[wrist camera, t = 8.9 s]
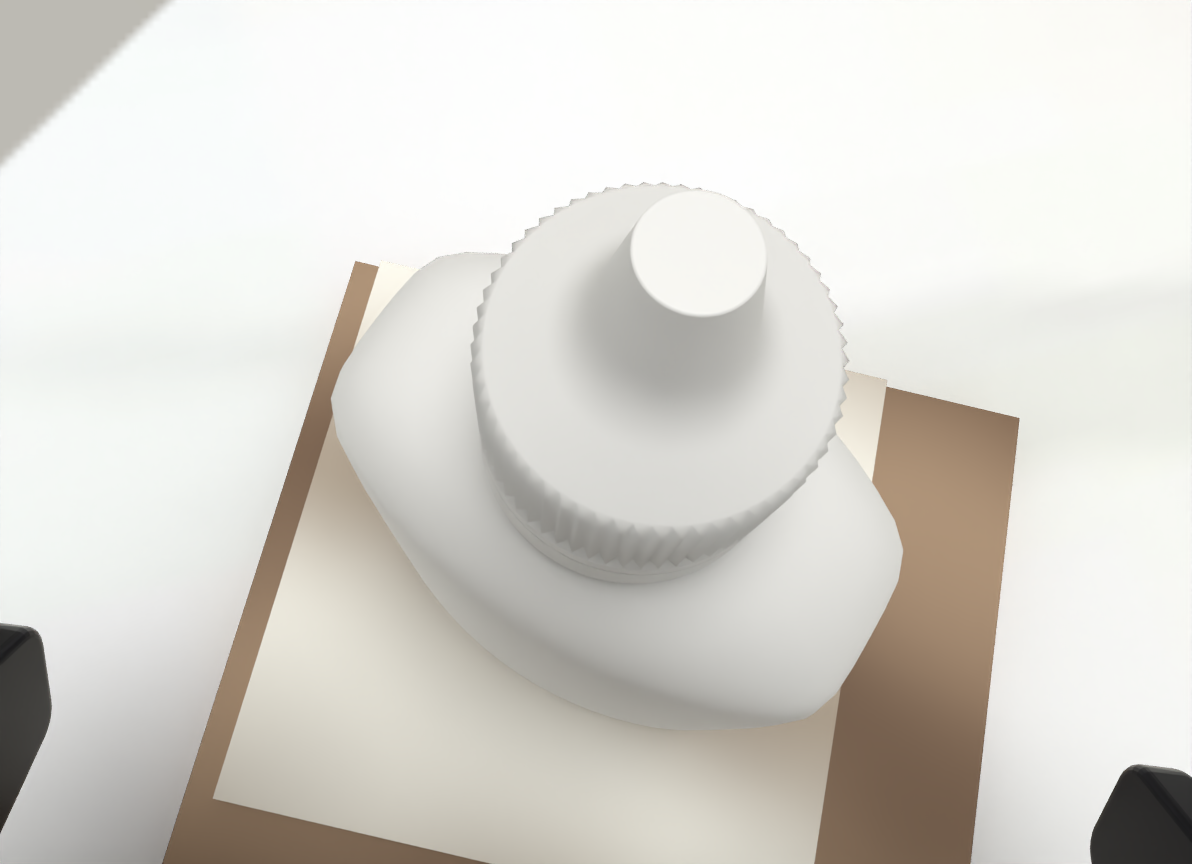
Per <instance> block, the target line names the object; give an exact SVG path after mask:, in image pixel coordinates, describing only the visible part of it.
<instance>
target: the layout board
mask: <svg viewBox="0 0 1192 864" xmlns="http://www.w3.org/2000/svg"><path fill="white" fill-rule="evenodd" d="M418 270H420V269H415V268H411V267H407V266H403V265H399V264H394V263H390V262H386V261H382V260H381V262H380V265H379V267H378V266H374V265H369V264H365V263H361V262H357V261H355V264H354V267H353V270H352V274H351V277H350V280H349V283H348V286H347V289H346V292H345V295H344V299H343V302H342V305H341V308H340V311H339V314H338V317H337V320H336V323H335V327H334V330H333V333H332V336H331V339H330V342H329V345H328V348H327V352H326V355H325V358H324V361H323V364H322V367H321V370H320V373H319V376H318V380H317V383H316V386H315V389H314V392H313V395H312V398H311V401H310V405H309V408H308V411H307V414H306V417H305V420H304V423H303V426H302V429H301V433H300V436H299V439H298V442H297V445H296V448H295V451H294V454H293V458H292V461H291V464H290V467H289V470H288V473H287V476H286V479H285V482H284V486H283V489H282V492H281V495H280V498H279V501H278V504H277V507H276V511H275V514H274V517H273V520H272V523H271V526H270V529H269V532H268V535H267V539H266V542H265V545H264V548H263V551H262V554H261V557H260V560H259V564H258V567H257V570H256V573H255V576H254V579H253V582H252V585H251V588H250V592H249V595H248V598H247V601H246V604H245V607H244V610H243V613H242V617H241V620H240V623H239V626H238V629H237V632H236V635H235V638H234V641H233V645H232V648H231V651H230V654H229V657H228V660H227V663H226V666H225V670H224V673H223V676H222V679H221V682H220V685H219V688H218V691H217V694H216V698H215V701H214V704H213V707H212V710H211V713H210V716H209V719H208V723H207V726H206V729H205V732H204V735H203V738H202V741H201V744H200V747H199V751H198V754H197V757H196V760H195V763H194V766H193V769H192V772H191V776H190V779H189V782H188V785H187V788H186V791H185V794H184V797H183V800H182V804H181V807H180V810H179V813H178V816H177V819H176V822H175V825H174V829H173V832H172V835H171V838H170V841H169V844H168V847H167V850H166V853H165V857H164V860H163V863H162V864H970V862H971V853H972V844H973V835H974V826H975V816H976V807H977V798H978V789H979V780H980V771H981V762H982V753H983V744H984V735H985V726H986V717H987V708H988V699H989V690H990V681H991V672H992V663H993V654H994V645H995V635H996V626H997V617H998V608H999V599H1000V590H1001V581H1002V572H1003V563H1004V554H1005V545H1006V536H1007V527H1008V518H1009V509H1010V500H1011V491H1012V482H1013V473H1014V464H1015V455H1016V445H1017V436H1018V427H1019V418H1017V417H1012V416H1008V415H1004V414H1000V413H995V412H991V411H987V410H983V409H978V408H974V407H970V406H966V405H962V404H957V403H953V402H949V401H945V400H940V399H936V398H932V397H928V396H923V395H919V394H915V393H911V392H907V391H902V390H898V389H894V388H890V387H886V385H887V380H885V379H881V378H877V377H872V376H868V375H864V374H860V373H855V372H851V371H847V370H845V372H846V374H847V376H848V378H849V381H848V382H847V383H846V384H845V385H844V386H843V389H844V391H845V394H846V397H847V399H846V400H845V401H844V402H843V403H842V404H841V405H840V408H841V412H842V415H843V417H842V418H841V419H840V420H839V421H838V422H837V423H836V424H835V429H836V434H837V435H838V436H839V438H840V439H841V440H842V442H843V443H844V444H845V445H846V447H847V448H848V449H849V451H850V452H851V453H852V454H853V456H854V457H855V458H856V460H857V461H858V462H859V464H860V465H861V467H862V468H863V470H864V471H865V473H866V474H867V476H868V477H869V479H870V480H871V482H872V483H873V485H874V486H875V488H876V489H877V491H878V492H879V494H880V496H881V498H882V499H883V501H884V503H885V505H886V506H887V508H888V510H889V511H890V513H891V515H892V517H893V518H894V520H895V523H896V526H897V530H898V533H899V537H900V540H901V544H902V547H903V556H902V562H901V568H900V574H899V580H898V583H897V585H896V587H895V589H894V591H893V594H892V596H891V598H890V600H889V602H888V604H887V606H886V609H885V611H884V612H883V614H882V616H881V618H880V620H879V622H878V624H877V625H876V627H875V629H874V631H873V633H872V635H871V637H870V638H869V640H868V642H867V644H866V646H865V647H864V649H863V651H862V653H861V654H860V656H859V658H858V660H857V661H856V663H855V665H854V667H853V668H852V670H851V671H850V673H849V675H848V676H847V678H846V679H845V681H844V682H843V684H842V685H841V687H840V689H839V690H838V692H837V693H836V694H835V695H834V696H833V697H832V698H831V699H830V700H829V701H827V702H826V703H825V704H824V705H823V706H822V707H821V708H819V709H818V710H817V711H816V712H815V713H814V714H812V715H811V716H809V717H808V718H806V719H802V720H798V721H793V722H789V723H784V724H779V725H774V726H766V727H759V728H749V729H724V730H671V729H662V728H654V727H649V726H644V725H639V724H634V723H630V722H626V721H623V720H619V719H615V718H612V717H609V716H606V715H603V714H600V713H597V712H594V711H591V710H589V709H586V708H584V707H581V706H579V705H576V704H574V703H571V702H569V701H567V700H565V699H563V698H561V697H559V696H556V695H554V694H552V693H550V692H549V691H547V690H545V689H543V688H541V687H539V686H538V685H536V684H534V683H532V682H531V681H529V680H528V679H526V678H524V677H523V676H521V675H520V674H518V673H517V672H515V671H514V670H512V669H511V668H510V667H508V666H507V665H505V664H504V663H503V662H501V661H500V660H499V659H497V658H496V657H495V656H494V655H492V654H491V653H490V652H489V651H487V650H486V649H485V648H484V647H483V646H481V645H480V644H479V643H478V642H477V641H476V640H475V639H474V638H473V637H472V636H471V635H469V634H468V633H467V632H466V631H465V630H464V629H463V628H462V627H461V626H460V625H459V624H458V622H457V621H456V620H455V619H454V618H453V617H452V616H451V615H450V614H449V613H448V611H447V610H446V609H445V608H444V607H443V606H442V604H441V603H440V602H439V601H438V600H437V598H436V597H435V596H434V594H433V593H432V592H431V590H430V589H429V588H428V586H427V585H426V584H425V583H424V581H423V580H422V578H421V577H420V575H419V574H418V572H417V571H416V569H415V568H414V566H413V565H412V563H411V561H410V560H409V558H408V557H407V555H406V554H405V552H404V551H403V549H402V548H401V546H400V544H399V543H398V541H397V540H396V538H395V537H394V535H393V534H392V532H391V530H390V529H389V527H388V526H387V524H386V523H385V521H384V519H383V518H382V516H381V515H380V513H379V511H378V510H377V508H376V507H375V505H374V503H373V502H372V500H371V499H370V497H369V495H368V494H367V492H366V490H365V489H364V487H363V485H362V483H361V481H360V480H359V478H358V476H357V474H356V472H355V470H354V469H353V467H352V465H351V463H350V461H349V459H348V457H347V455H346V453H345V451H344V449H343V447H342V445H341V443H340V441H339V439H338V438H337V433H336V427H335V422H334V416H333V410H332V403H331V396H332V393H333V391H334V388H335V385H336V382H337V379H338V376H339V373H340V371H341V369H342V367H343V365H344V364H345V362H346V361H347V359H348V358H349V356H350V354H351V353H352V351H353V350H354V348H355V347H356V345H357V344H358V342H359V341H360V339H361V338H362V337H363V335H364V334H365V333H366V331H367V330H368V329H369V327H370V326H371V325H372V323H373V322H374V321H375V319H376V318H377V317H378V316H379V314H380V313H381V312H382V311H383V309H384V308H385V307H386V306H387V304H388V303H389V302H390V301H391V299H392V298H393V297H394V296H395V294H396V293H397V292H398V291H399V290H400V289H401V288H402V287H403V285H404V284H405V283H406V282H407V281H408V280H409V279H410V278H411V277H412V275H413V274H414V273H415V272H416V271H418Z"/></svg>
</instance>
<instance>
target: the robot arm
mask: <svg viewBox="0 0 1192 864" xmlns="http://www.w3.org/2000/svg"><path fill="white" fill-rule="evenodd" d="M51 709H52V704H51V695H50V688H49V681H48V674H47V668H46V661H45V654H44V647H43V642H42V639H41V636H40V635H39V633H38V632H37V631H36V630H35V629H33V628H31V627H28V626H20V625H12V624H4V623H0V833H1V831H2V828H3V826H4V824H5V822H6V820H7V818H8V815H9V813H10V811H11V809H12V807H13V805H14V802H15V800H16V798H17V796H18V794H19V792H20V789H21V787H22V785H23V783H24V781H25V778H26V776H27V774H28V772H29V770H30V768H31V765H32V763H33V761H34V759H35V757H36V755H37V752H38V750H39V748H40V746H41V744H42V742H43V739H44V737H45V735H46V732H47V729H48V726H49V723H50V718H51ZM1090 853H1091V861H1092V864H1192V777H1191V776H1189V775H1188V774H1186V773H1185V772H1183V771H1180V770H1177V769H1173V768H1165V767H1157V766H1149V765H1141V764H1138V765H1132V766H1130V767H1128V768H1127V769H1126V770H1125V771H1123V773H1122V774H1121V776H1120V778H1119V780H1118V782H1117V784H1116V786H1115V788H1114V790H1113V792H1112V793H1111V795H1110V797H1109V799H1108V801H1107V803H1106V805H1105V807H1104V809H1103V811H1102V813H1101V815H1100V817H1099V819H1098V821H1097V823H1096V825H1095V827H1094V829H1093V832H1092V837H1091V844H1090Z"/></svg>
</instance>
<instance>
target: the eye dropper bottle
mask: <svg viewBox="0 0 1192 864" xmlns="http://www.w3.org/2000/svg"><path fill="white" fill-rule="evenodd" d="M820 275H821V273H820V272H818V271H817V270H816V269H815V268H813V267H812V266H811V265H810V258H809V257H808V256H806V255H804V254H803V253H801V252H800V251H799V249H798V244H797V243H795V242H793V241H791V240H789V239H787V238H786V236H785V233H784V231H783V230H780V229H778V228H776V227H773V226H772V224H771V222H770V221H769V219H766V218H763V217H760V216H758V215H757V214H756V213H755V211H754V210H753V209H750V208H745V207H743V206H742V205H740V204H739V203H738V202H737V201H736V200H733V199H731V198H729V197H727V196H724V195H722V194H719V193H716V192H712V191H707V190H702V189H701V188H696V189H690V188H688V187H686V186H684V185H682V184H680V185H677V186H671V185H668V184H665V183H663V182H662V183H660V184H657V185H651V184H648V183H644V182H643V183H642V184H640V185H638V186H633V185H628V184H624V185H623V186H622V187H621V188H619V189H617V188H608V187H606V188H605V190H604V191H603V192H602V193H588V194H587V196H586V198H585V199H571V201H570V204H569V206H566V207H559V208H555V209H554V215H552V216H547V217H543V218H539V226H536V227H533V228H530V229H527V230H525V238H524V239H521V240H519V241H516V242H514V243H512V252H511V253H509V254H498V253H474V252H464V253H459V254H453V255H447V256H442V257H438V258H436V259H435V260H433V261H432V262H430V263H429V264H427V265H426V266H424V267H423V268H421V269H420V270H418V271H416V272H415V273H414V274H413V275H412V277H411V278H410V279H409V280H408V281H407V282H406V283H405V284H404V285H403V287H402V288H401V289H400V290H399V291H398V292H397V293H396V294H395V296H394V297H393V298H392V299H391V301H390V302H389V303H388V304H387V306H386V307H385V308H384V309H383V311H382V312H381V313H380V314H379V316H378V317H377V318H376V319H375V321H374V322H373V323H372V325H371V326H370V327H369V329H368V330H367V331H366V333H365V334H364V335H363V337H362V338H361V339H360V341H359V342H358V344H357V345H356V347H355V348H354V350H353V351H352V353H351V354H350V356H349V358H348V359H347V361H346V362H345V364H344V365H343V367H342V369H341V371H340V373H339V376H338V379H337V382H336V385H335V388H334V391H333V393H332V396H331V403H332V410H333V416H334V422H335V427H336V433H337V438H338V439H339V441H340V443H341V445H342V447H343V449H344V451H345V453H346V455H347V457H348V459H349V461H350V463H351V465H352V467H353V469H354V470H355V472H356V474H357V476H358V478H359V480H360V481H361V483H362V485H363V487H364V489H365V490H366V492H367V494H368V495H369V497H370V499H371V500H372V502H373V503H374V505H375V507H376V508H377V510H378V511H379V513H380V515H381V516H382V518H383V519H384V521H385V523H386V524H387V526H388V527H389V529H390V530H391V532H392V534H393V535H394V537H395V538H396V540H397V541H398V543H399V544H400V546H401V548H402V549H403V551H404V552H405V554H406V555H407V557H408V558H409V560H410V561H411V563H412V565H413V566H414V568H415V569H416V571H417V572H418V574H419V575H420V577H421V578H422V580H423V581H424V583H425V584H426V585H427V586H428V588H429V589H430V590H431V592H432V593H433V594H434V596H435V597H436V598H437V600H438V601H439V602H440V603H441V604H442V606H443V607H444V608H445V609H446V610H447V611H448V613H449V614H450V615H451V616H452V617H453V618H454V619H455V620H456V621H457V622H458V624H459V625H460V626H461V627H462V628H463V629H464V630H465V631H466V632H467V633H468V634H469V635H471V636H472V637H473V638H474V639H475V640H476V641H477V642H478V643H479V644H480V645H481V646H483V647H484V648H485V649H486V650H487V651H489V652H490V653H491V654H492V655H494V656H495V657H496V658H497V659H499V660H500V661H501V662H503V663H504V664H505V665H507V666H508V667H510V668H511V669H512V670H514V671H515V672H517V673H518V674H520V675H521V676H523V677H524V678H526V679H528V680H529V681H531V682H532V683H534V684H536V685H538V686H539V687H541V688H543V689H545V690H547V691H549V692H550V693H552V694H554V695H556V696H559V697H561V698H563V699H565V700H567V701H569V702H571V703H574V704H576V705H579V706H581V707H584V708H586V709H589V710H591V711H594V712H597V713H600V714H603V715H606V716H609V717H612V718H615V719H619V720H623V721H626V722H630V723H634V724H639V725H644V726H649V727H654V728H662V729H671V730H724V729H749V728H759V727H766V726H774V725H779V724H784V723H789V722H793V721H798V720H802V719H806V718H808V717H809V716H811V715H812V714H814V713H815V712H816V711H817V710H818V709H819V708H821V707H822V706H823V705H824V704H825V703H826V702H827V701H829V700H830V699H831V698H832V697H833V696H834V695H835V694H836V693H837V692H838V690H839V689H840V687H841V685H842V684H843V682H844V681H845V679H846V678H847V676H848V675H849V673H850V671H851V670H852V668H853V667H854V665H855V663H856V661H857V660H858V658H859V656H860V654H861V653H862V651H863V649H864V647H865V646H866V644H867V642H868V640H869V638H870V637H871V635H872V633H873V631H874V629H875V627H876V625H877V624H878V622H879V620H880V618H881V616H882V614H883V612H884V611H885V609H886V606H887V604H888V602H889V600H890V598H891V596H892V594H893V591H894V589H895V587H896V585H897V583H898V580H899V574H900V568H901V562H902V556H903V547H902V544H901V540H900V537H899V533H898V530H897V526H896V523H895V520H894V518H893V517H892V515H891V513H890V511H889V510H888V508H887V506H886V505H885V503H884V501H883V499H882V498H881V496H880V494H879V492H878V491H877V489H876V488H875V486H874V485H873V483H872V482H871V480H870V479H869V477H868V476H867V474H866V473H865V471H864V470H863V468H862V467H861V465H860V464H859V462H858V461H857V460H856V458H855V457H854V456H853V454H852V453H851V452H850V451H849V449H848V448H847V447H846V445H845V444H844V443H843V442H842V440H841V439H840V438H839V436H838V435H837V434H836V429H835V424H836V423H837V422H838V421H839V420H840V419H841V418H842V417H843V415H842V412H841V408H840V405H841V404H842V403H843V402H844V401H845V400H846V399H847V397H846V394H845V391H844V389H843V386H844V385H845V384H846V383H847V382H848V381H849V378H848V376H847V374H846V372H845V370H844V367H845V365H846V364H847V363H848V362H849V360H848V358H847V356H846V354H845V353H844V351H843V349H842V348H843V347H844V346H845V345H846V344H847V341H846V340H845V338H844V337H843V335H842V334H841V332H840V331H839V329H840V328H841V327H842V326H843V323H842V322H841V321H840V319H839V318H838V317H837V316H836V314H835V313H834V312H835V310H836V309H837V307H838V306H837V305H836V304H835V303H834V302H833V301H832V300H831V299H830V298H829V297H828V294H829V291H830V289H829V288H828V287H827V286H826V285H825V284H823V283H822V282H821V281H820Z"/></svg>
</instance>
